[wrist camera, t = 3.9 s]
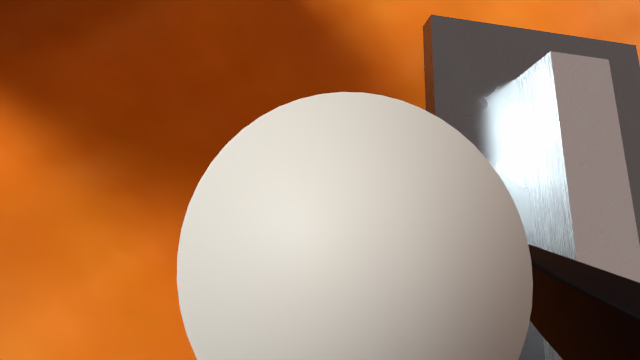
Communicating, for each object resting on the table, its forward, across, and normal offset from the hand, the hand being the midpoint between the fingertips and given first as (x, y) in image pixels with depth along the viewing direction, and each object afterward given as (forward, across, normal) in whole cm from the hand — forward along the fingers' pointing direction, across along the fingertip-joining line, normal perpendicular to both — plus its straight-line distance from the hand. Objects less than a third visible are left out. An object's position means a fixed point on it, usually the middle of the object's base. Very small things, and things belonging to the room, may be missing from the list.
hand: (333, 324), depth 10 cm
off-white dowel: (+7, 0, +6) cm, 9 cm away
